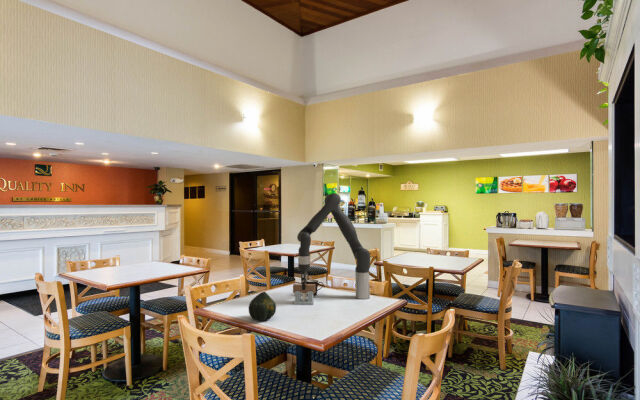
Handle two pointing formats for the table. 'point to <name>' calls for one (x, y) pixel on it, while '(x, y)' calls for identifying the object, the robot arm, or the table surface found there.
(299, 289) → the glasses bar
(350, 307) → the table surface
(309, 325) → the table surface
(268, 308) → the squash
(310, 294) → the display stand
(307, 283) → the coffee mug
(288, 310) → the table surface
